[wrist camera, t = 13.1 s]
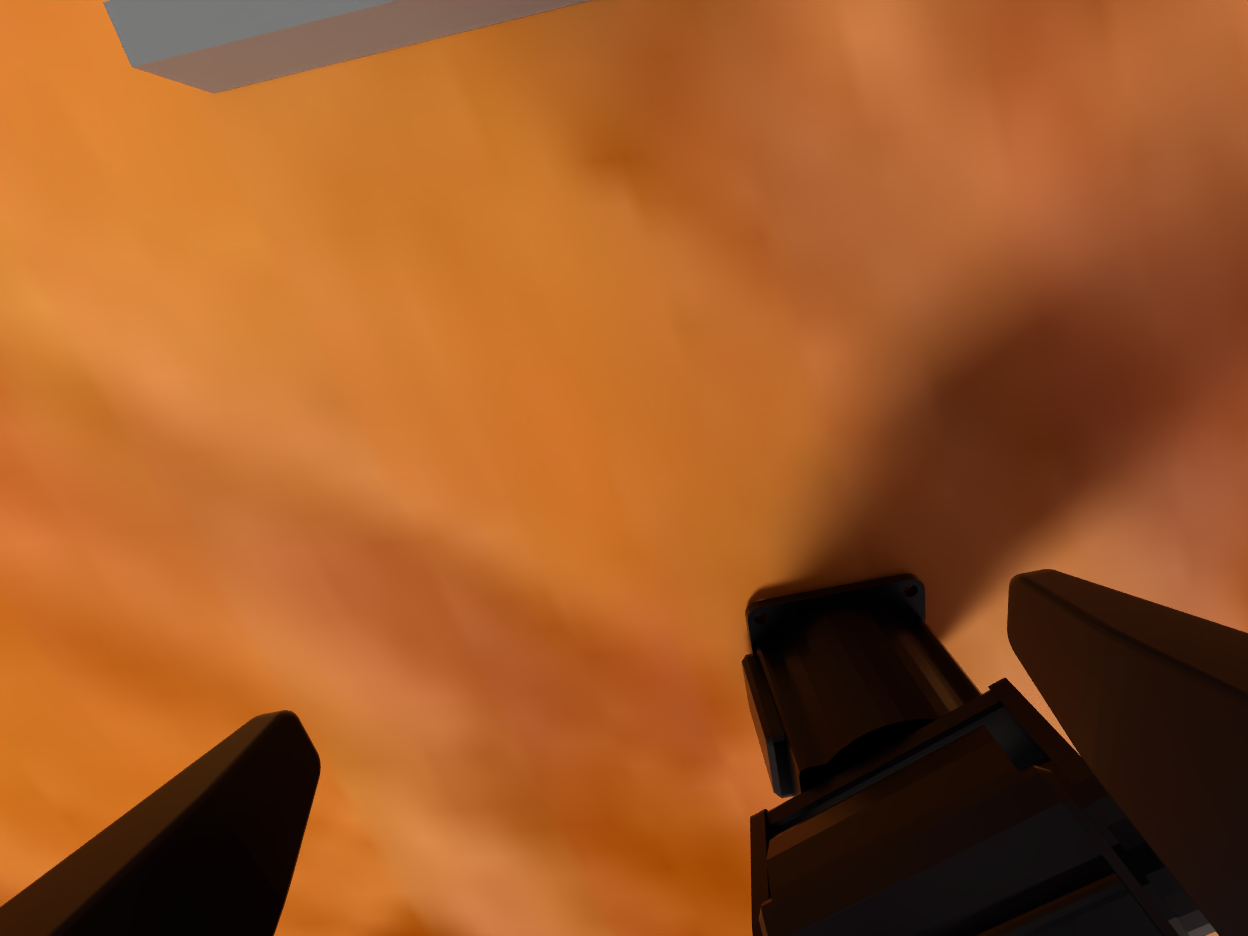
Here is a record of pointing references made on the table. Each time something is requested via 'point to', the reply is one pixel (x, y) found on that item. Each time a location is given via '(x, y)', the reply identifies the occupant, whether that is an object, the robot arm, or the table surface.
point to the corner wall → (288, 33)
